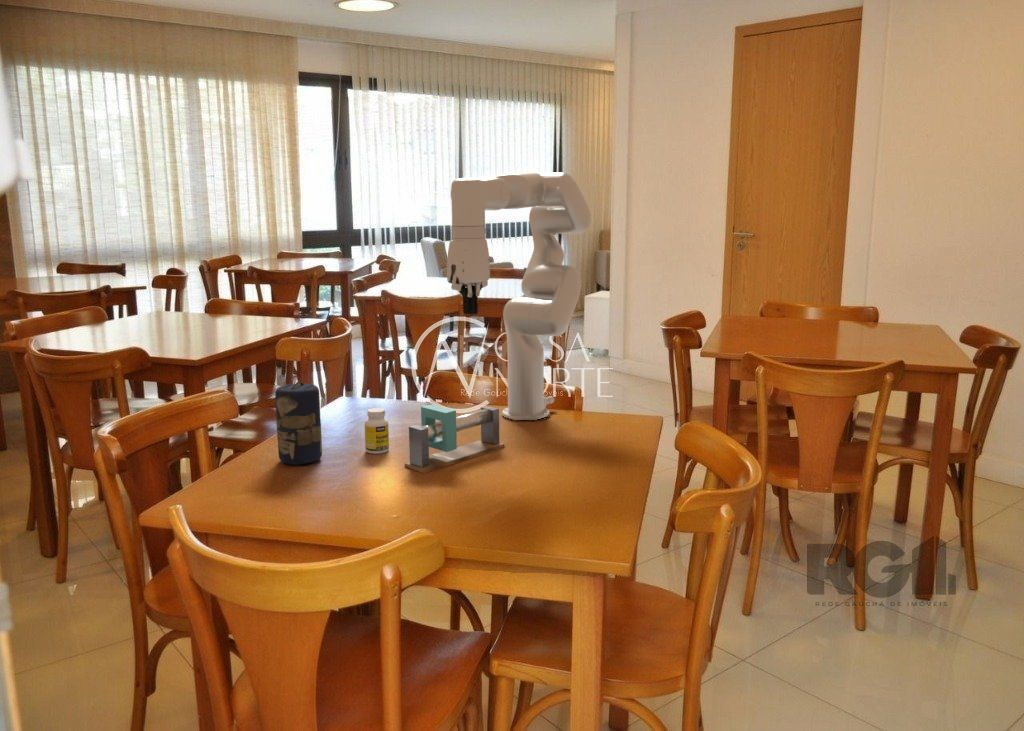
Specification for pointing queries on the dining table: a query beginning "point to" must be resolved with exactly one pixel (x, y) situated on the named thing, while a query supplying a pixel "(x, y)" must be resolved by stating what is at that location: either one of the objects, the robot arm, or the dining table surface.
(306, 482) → the dining table surface
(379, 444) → the supplement bottle
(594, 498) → the dining table surface
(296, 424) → the canister
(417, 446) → the rail
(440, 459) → the base board
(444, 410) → the teal rectangular frame
